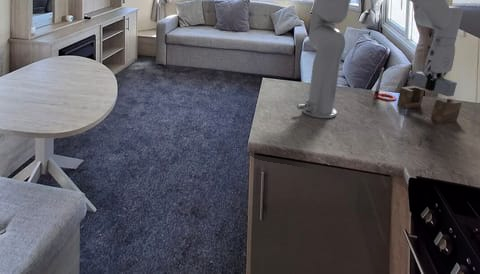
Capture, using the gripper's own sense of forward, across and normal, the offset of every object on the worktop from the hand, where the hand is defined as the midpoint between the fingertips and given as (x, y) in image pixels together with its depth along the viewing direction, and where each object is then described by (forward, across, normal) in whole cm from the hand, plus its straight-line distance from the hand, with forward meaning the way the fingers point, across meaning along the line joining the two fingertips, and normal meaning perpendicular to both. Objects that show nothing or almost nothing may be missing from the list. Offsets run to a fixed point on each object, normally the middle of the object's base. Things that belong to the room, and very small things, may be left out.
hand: (432, 88), depth 152 cm
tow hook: (+10, -2, +20) cm, 23 cm away
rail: (0, 0, 0) cm, 0 cm away
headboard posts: (+10, 0, 0) cm, 10 cm away
